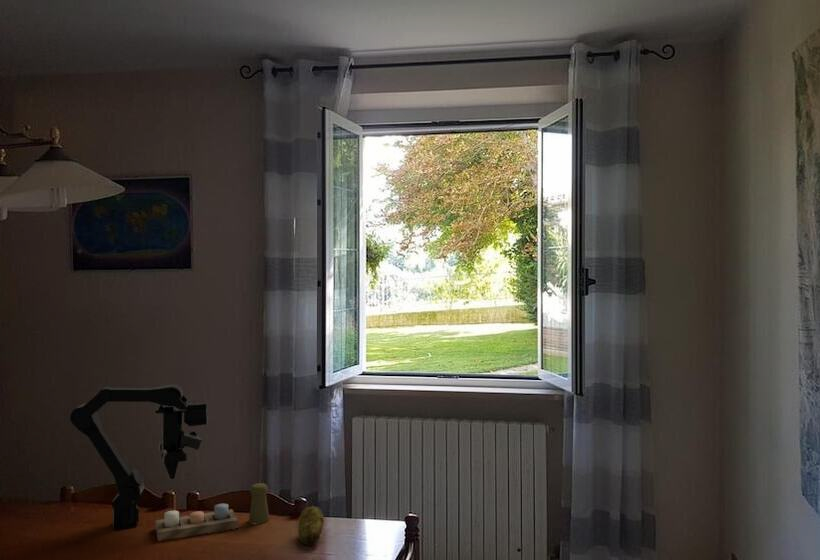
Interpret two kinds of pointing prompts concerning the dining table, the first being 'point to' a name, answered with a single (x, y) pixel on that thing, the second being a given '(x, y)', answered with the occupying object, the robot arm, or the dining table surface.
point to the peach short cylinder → (196, 517)
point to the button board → (195, 526)
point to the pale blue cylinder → (220, 511)
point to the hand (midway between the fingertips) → (172, 478)
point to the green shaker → (259, 504)
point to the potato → (310, 525)
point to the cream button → (171, 519)
